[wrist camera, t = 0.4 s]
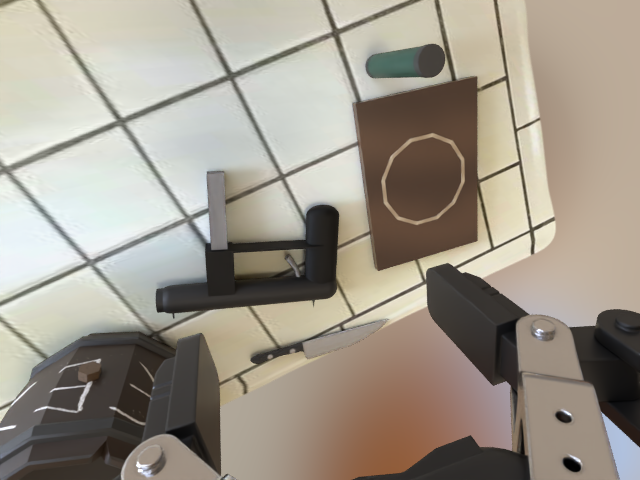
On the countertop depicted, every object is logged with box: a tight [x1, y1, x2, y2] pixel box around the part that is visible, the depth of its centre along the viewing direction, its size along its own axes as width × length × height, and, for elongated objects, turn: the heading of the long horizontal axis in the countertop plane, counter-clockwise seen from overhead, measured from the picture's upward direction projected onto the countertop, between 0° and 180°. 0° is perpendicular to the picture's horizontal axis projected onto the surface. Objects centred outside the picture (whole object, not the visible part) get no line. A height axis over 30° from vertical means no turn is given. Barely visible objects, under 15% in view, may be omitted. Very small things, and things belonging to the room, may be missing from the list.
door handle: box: [156, 172, 339, 318], centre depth 41 cm, size 3×20×16 cm
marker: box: [366, 44, 445, 78], centre depth 33 cm, size 2×2×11 cm
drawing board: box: [353, 76, 477, 271], centre depth 44 cm, size 20×14×1 cm
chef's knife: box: [251, 319, 389, 364], centre depth 49 cm, size 19×1×3 cm
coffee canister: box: [0, 332, 176, 480], centre depth 37 cm, size 18×18×16 cm
